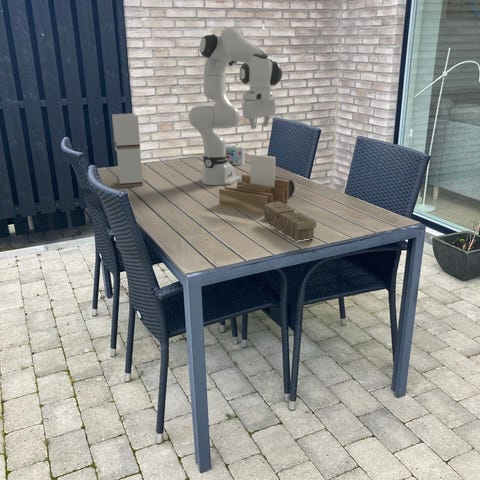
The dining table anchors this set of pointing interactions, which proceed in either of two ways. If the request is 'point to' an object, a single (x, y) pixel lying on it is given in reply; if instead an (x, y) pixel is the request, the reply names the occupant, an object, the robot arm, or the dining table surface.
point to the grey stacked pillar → (127, 149)
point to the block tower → (289, 221)
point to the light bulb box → (235, 154)
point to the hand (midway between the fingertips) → (259, 127)
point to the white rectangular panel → (262, 170)
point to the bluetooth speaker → (291, 185)
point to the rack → (253, 195)
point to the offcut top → (254, 188)
